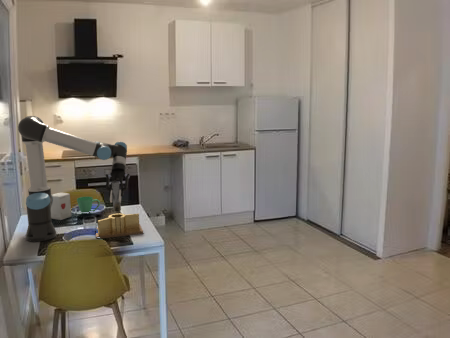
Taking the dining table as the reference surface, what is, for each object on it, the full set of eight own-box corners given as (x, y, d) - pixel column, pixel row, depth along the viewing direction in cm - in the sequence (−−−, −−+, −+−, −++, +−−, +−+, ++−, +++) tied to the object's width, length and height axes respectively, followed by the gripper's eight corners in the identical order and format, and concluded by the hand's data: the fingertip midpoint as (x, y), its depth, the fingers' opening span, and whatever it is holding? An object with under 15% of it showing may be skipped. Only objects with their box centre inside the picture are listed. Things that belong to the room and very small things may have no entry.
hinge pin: (113, 211, 231) (112, 183, 228) (113, 209, 235) (111, 181, 232) (121, 210, 232) (119, 182, 229) (120, 208, 236) (118, 181, 233)
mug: (75, 215, 268) (74, 200, 266) (81, 211, 278) (80, 196, 276) (97, 215, 267) (96, 200, 265) (103, 211, 276) (102, 196, 275)
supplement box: (60, 220, 258) (58, 196, 255) (50, 218, 262) (48, 195, 259) (72, 216, 266) (70, 193, 263) (61, 214, 270) (59, 192, 267)
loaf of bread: (96, 239, 225) (95, 222, 223) (95, 230, 239) (93, 214, 237) (143, 233, 233) (142, 217, 231) (139, 225, 247) (138, 209, 245)
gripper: (134, 169, 245) (132, 204, 232) (105, 169, 244) (100, 205, 231) (132, 161, 239) (130, 197, 226) (102, 162, 238) (98, 198, 225)
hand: (115, 201), depth 229 cm, fingers closed on hinge pin, 4 cm apart
